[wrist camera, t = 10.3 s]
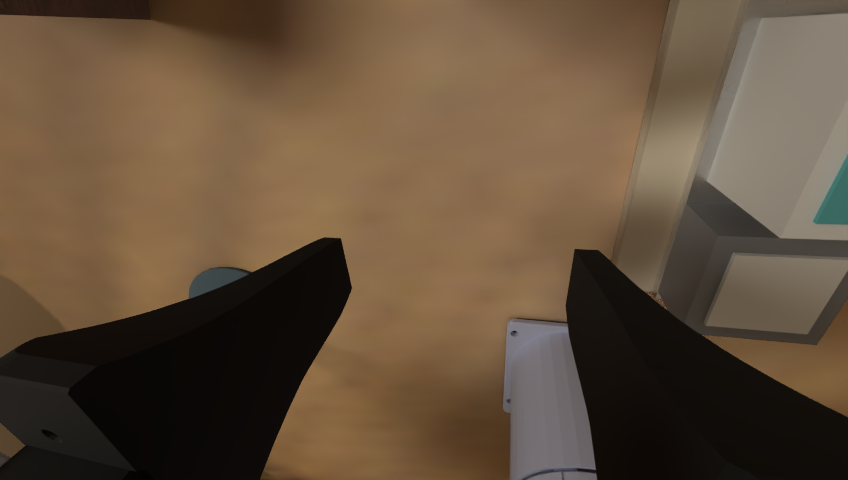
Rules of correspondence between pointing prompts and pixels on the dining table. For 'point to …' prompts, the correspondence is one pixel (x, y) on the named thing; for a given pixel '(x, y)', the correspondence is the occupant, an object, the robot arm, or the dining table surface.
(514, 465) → the robot arm
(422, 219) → the dining table surface
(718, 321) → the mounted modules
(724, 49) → the rail board
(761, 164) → the block
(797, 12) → the din rail
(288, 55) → the dining table surface
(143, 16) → the tissue box cover
